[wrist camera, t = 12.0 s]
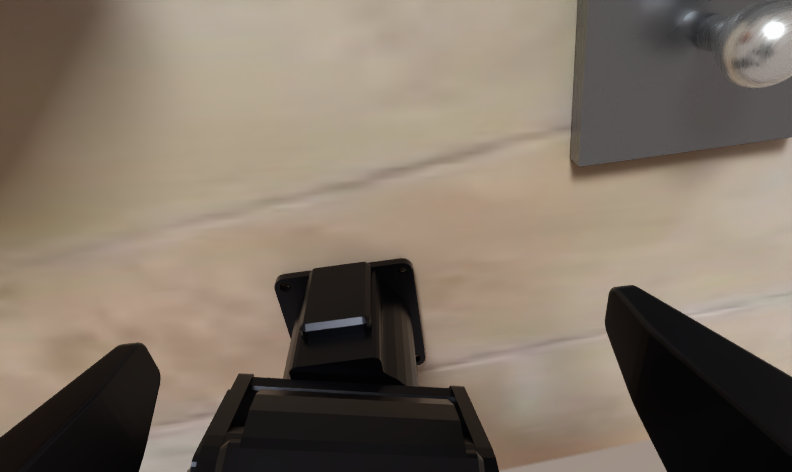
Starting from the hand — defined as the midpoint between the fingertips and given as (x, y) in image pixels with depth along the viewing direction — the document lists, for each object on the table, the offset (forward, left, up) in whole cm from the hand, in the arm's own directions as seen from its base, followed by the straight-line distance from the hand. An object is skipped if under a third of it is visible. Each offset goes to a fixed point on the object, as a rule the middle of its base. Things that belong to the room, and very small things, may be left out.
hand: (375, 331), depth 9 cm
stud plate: (+2, -12, -12) cm, 17 cm away
